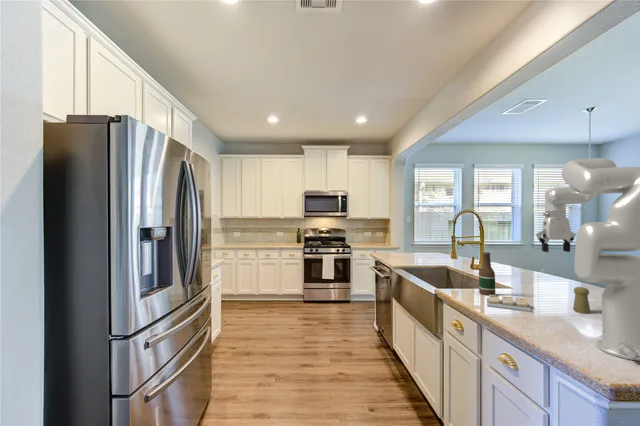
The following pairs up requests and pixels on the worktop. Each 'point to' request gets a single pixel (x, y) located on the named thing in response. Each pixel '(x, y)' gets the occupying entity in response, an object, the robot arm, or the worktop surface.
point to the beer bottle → (486, 277)
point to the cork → (581, 300)
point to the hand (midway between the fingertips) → (556, 251)
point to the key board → (514, 307)
